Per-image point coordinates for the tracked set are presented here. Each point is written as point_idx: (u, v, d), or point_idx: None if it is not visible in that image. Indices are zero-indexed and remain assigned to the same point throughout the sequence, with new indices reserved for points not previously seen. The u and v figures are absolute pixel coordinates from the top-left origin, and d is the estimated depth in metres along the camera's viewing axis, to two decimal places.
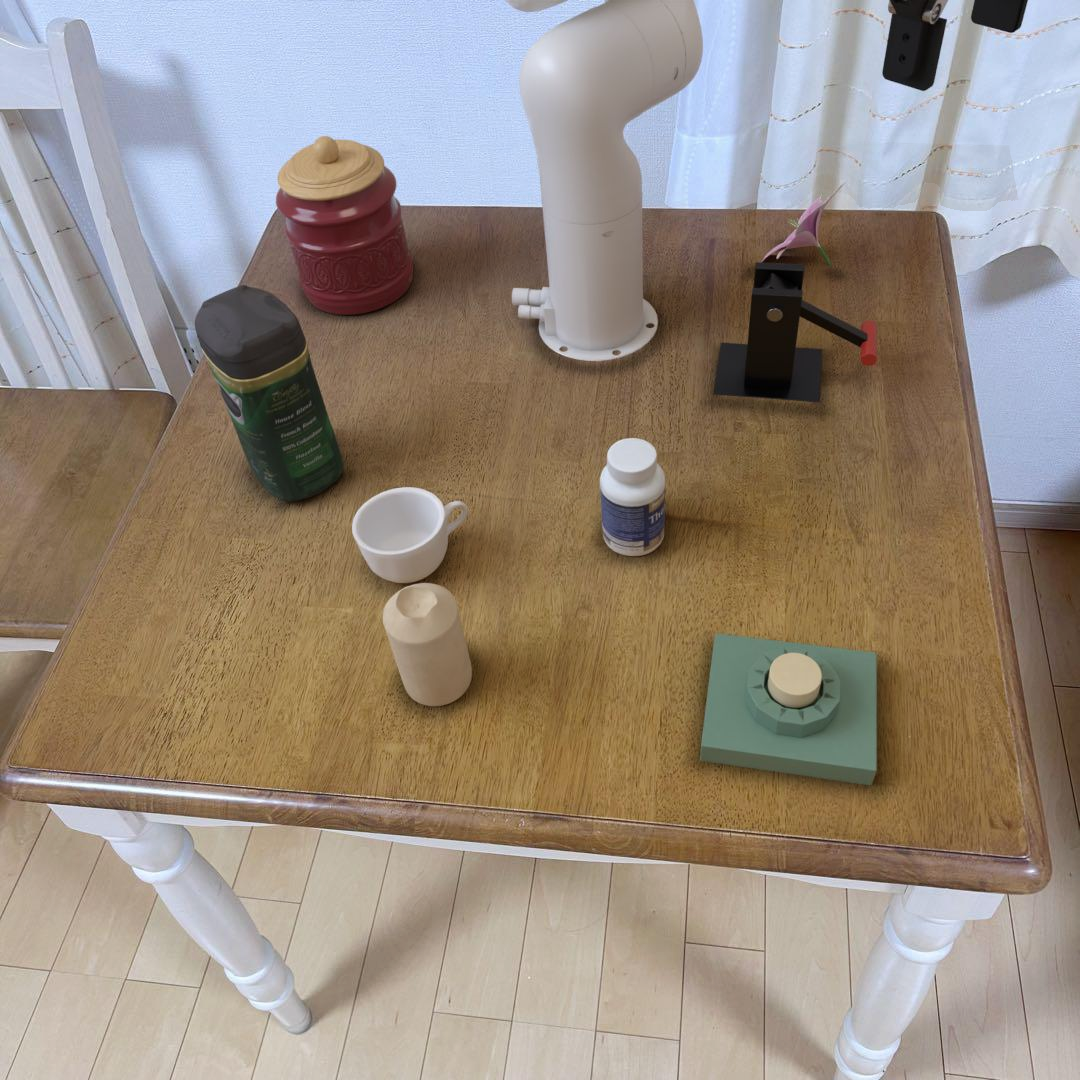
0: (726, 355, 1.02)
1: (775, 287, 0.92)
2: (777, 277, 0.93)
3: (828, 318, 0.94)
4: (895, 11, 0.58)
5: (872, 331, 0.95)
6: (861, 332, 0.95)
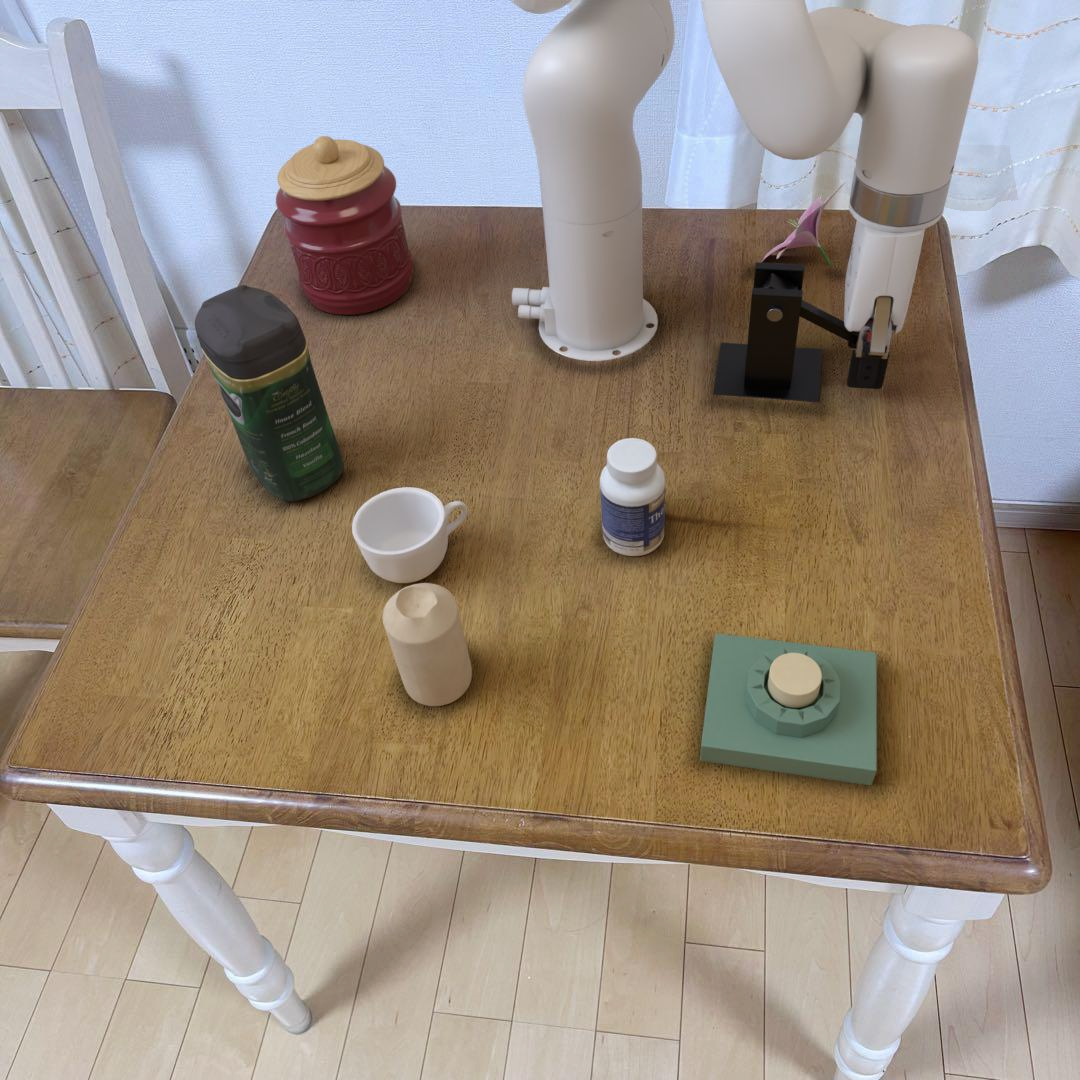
0: (726, 355, 1.02)
1: (775, 287, 0.92)
2: (777, 277, 0.93)
3: (828, 318, 0.94)
4: (861, 357, 0.92)
5: None
6: None
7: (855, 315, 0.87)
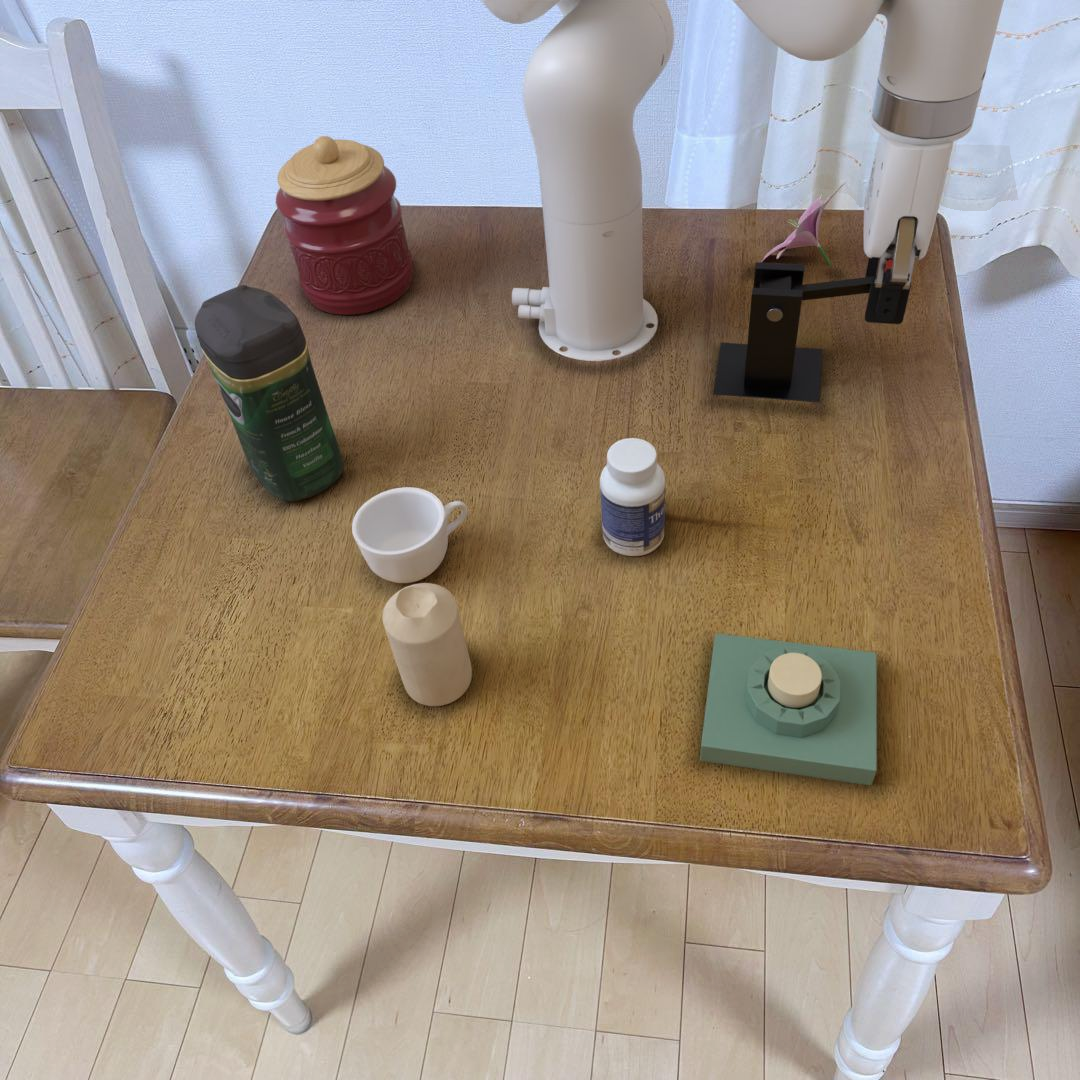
0: (726, 355, 1.02)
1: None
2: (767, 280, 0.93)
3: (835, 285, 0.91)
4: (881, 288, 0.86)
5: None
6: None
7: (876, 239, 0.82)
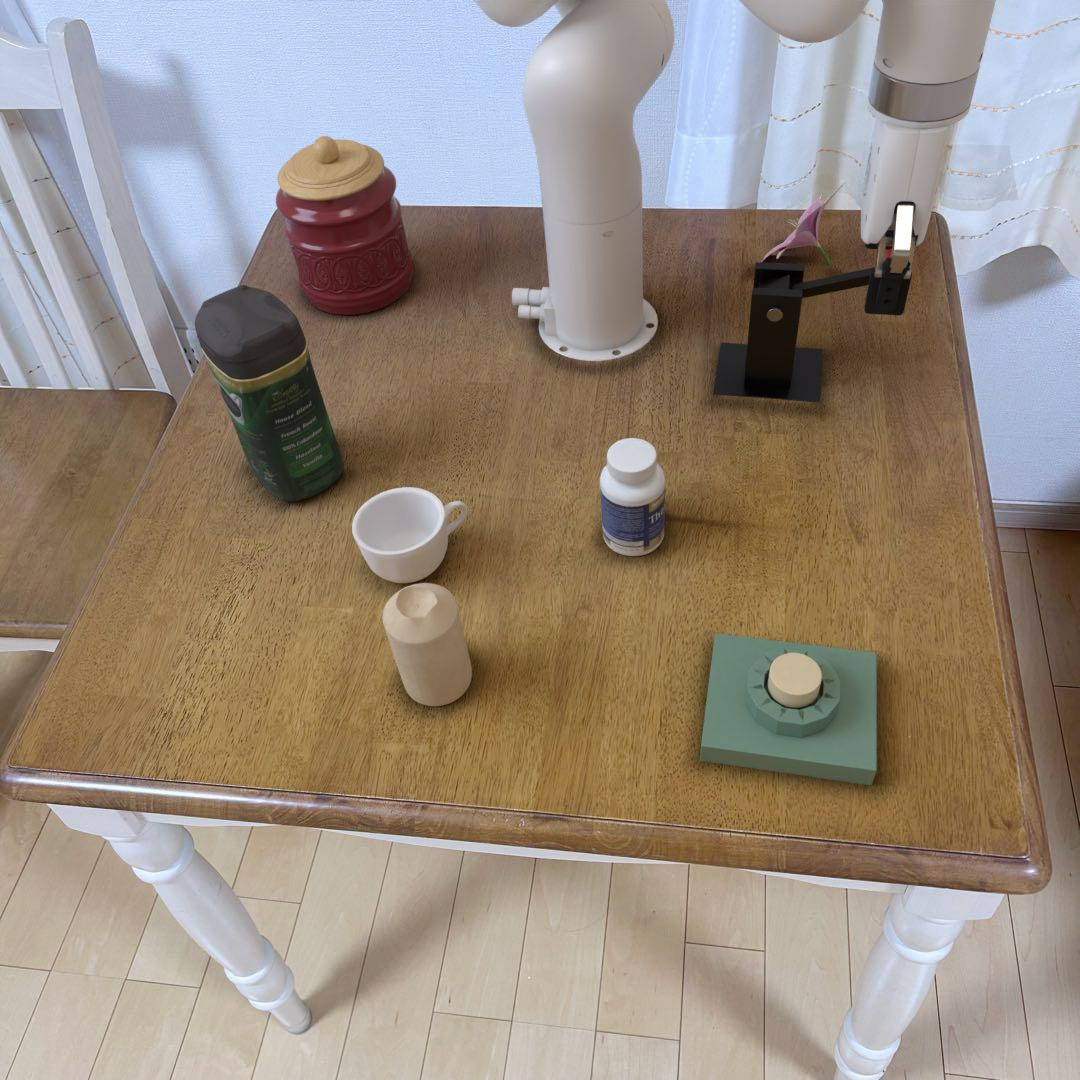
0: (726, 355, 1.02)
1: None
2: (766, 281, 0.93)
3: (834, 280, 0.91)
4: (881, 276, 0.83)
5: None
6: None
7: (873, 225, 0.81)
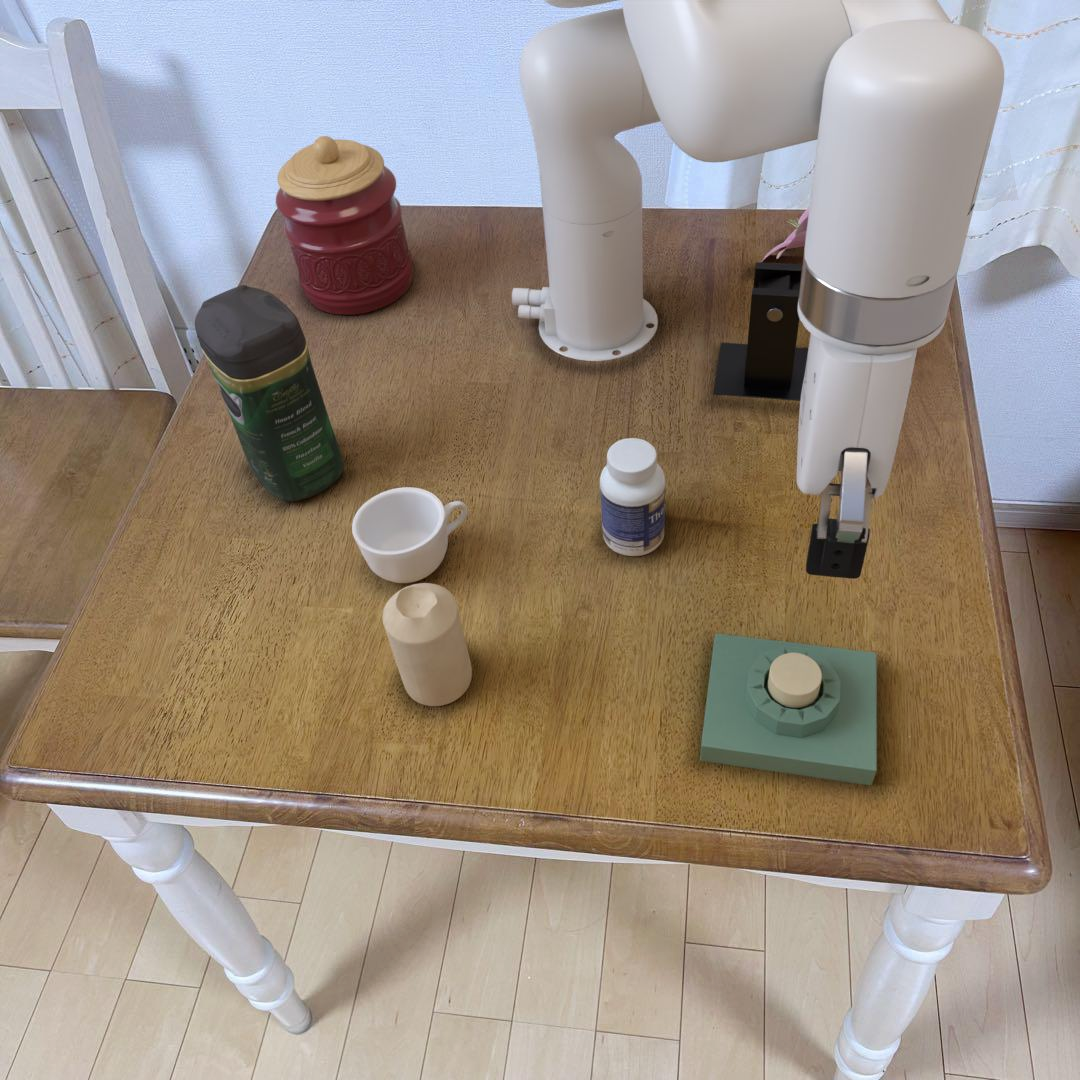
0: (726, 355, 1.02)
1: None
2: (766, 281, 0.93)
3: None
4: (825, 538, 0.58)
5: None
6: None
7: (811, 473, 0.56)
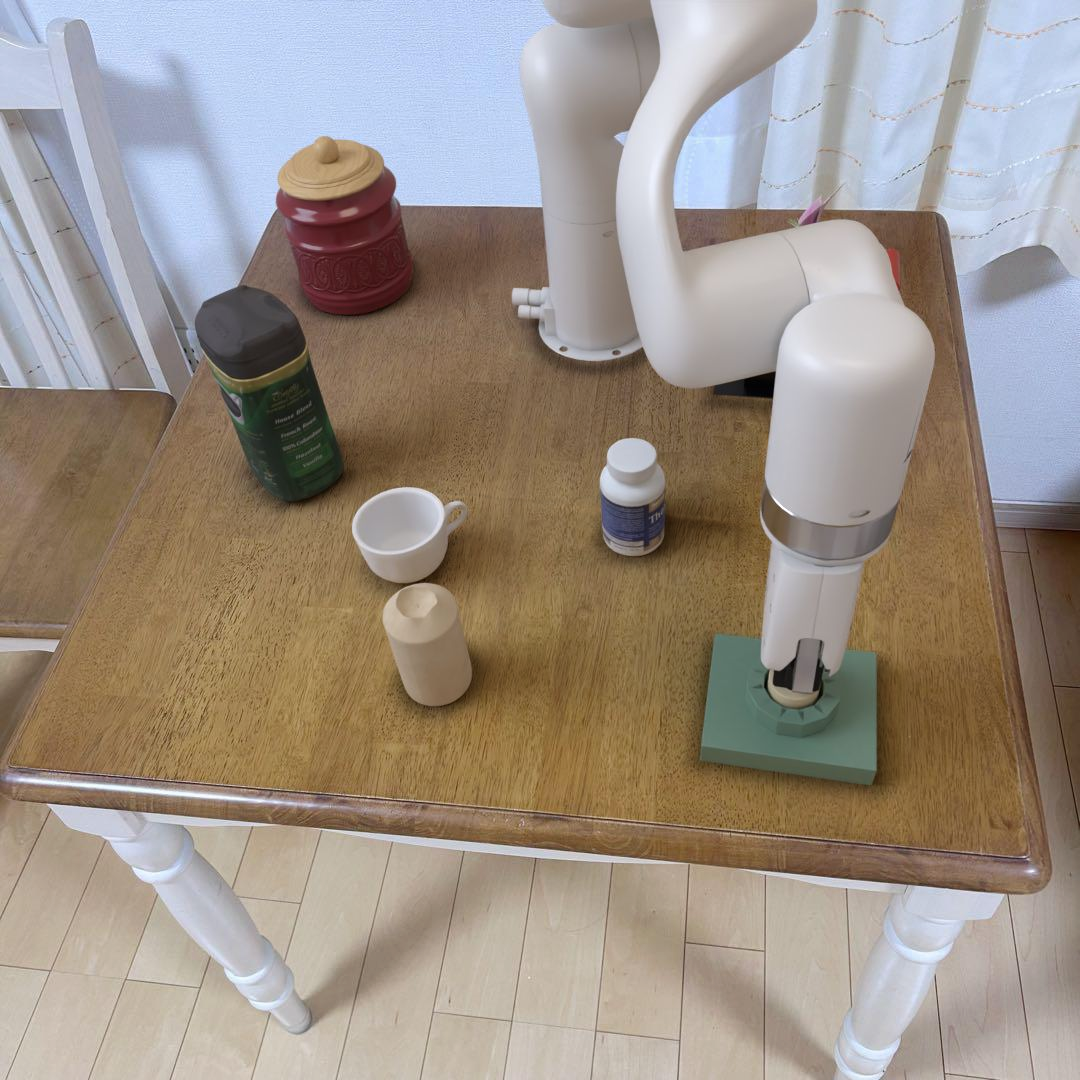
0: None
1: None
2: None
3: None
4: None
5: None
6: None
7: (772, 655, 0.62)
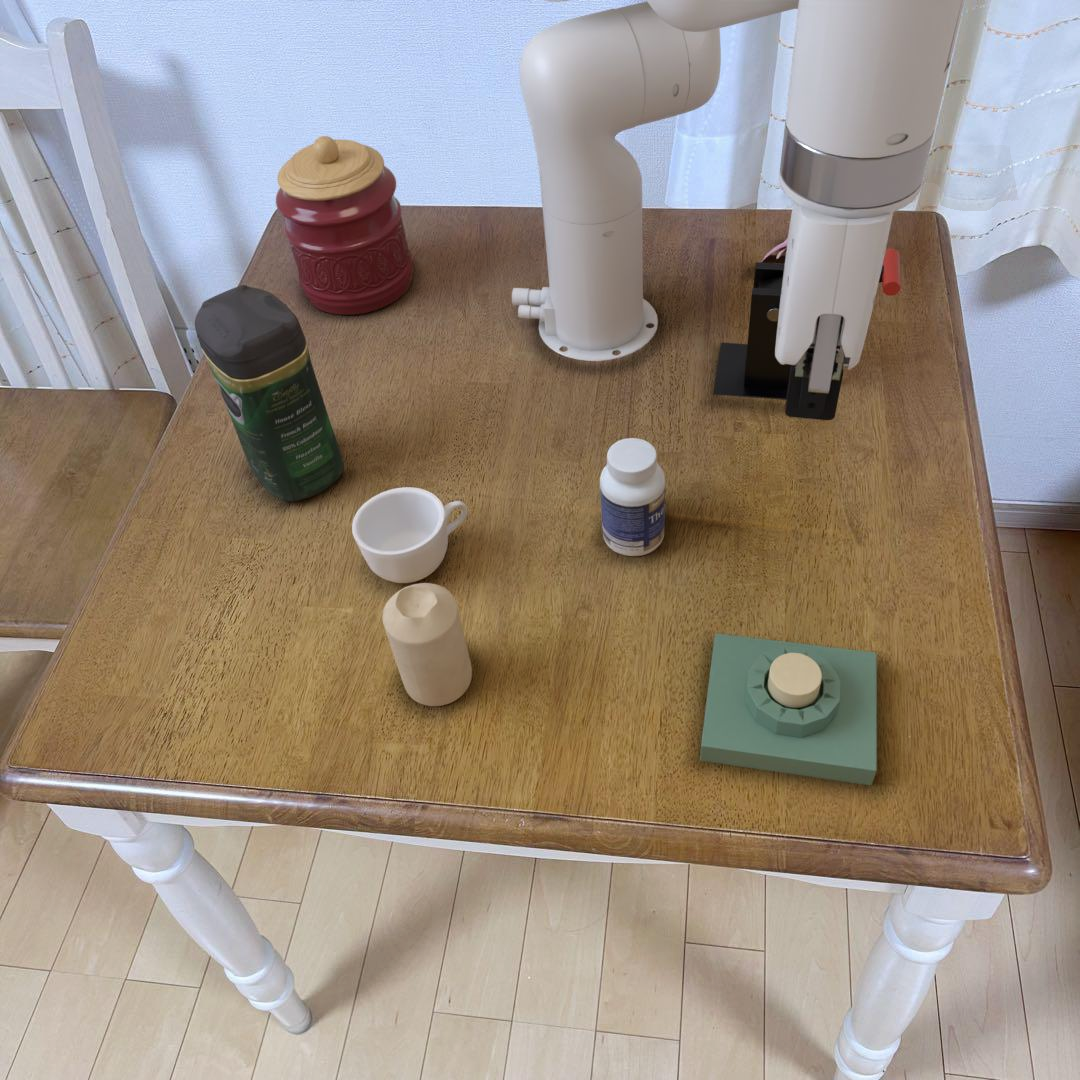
0: (726, 355, 1.02)
1: None
2: (766, 281, 0.93)
3: None
4: (802, 376, 0.64)
5: (888, 259, 0.89)
6: None
7: (788, 342, 0.58)
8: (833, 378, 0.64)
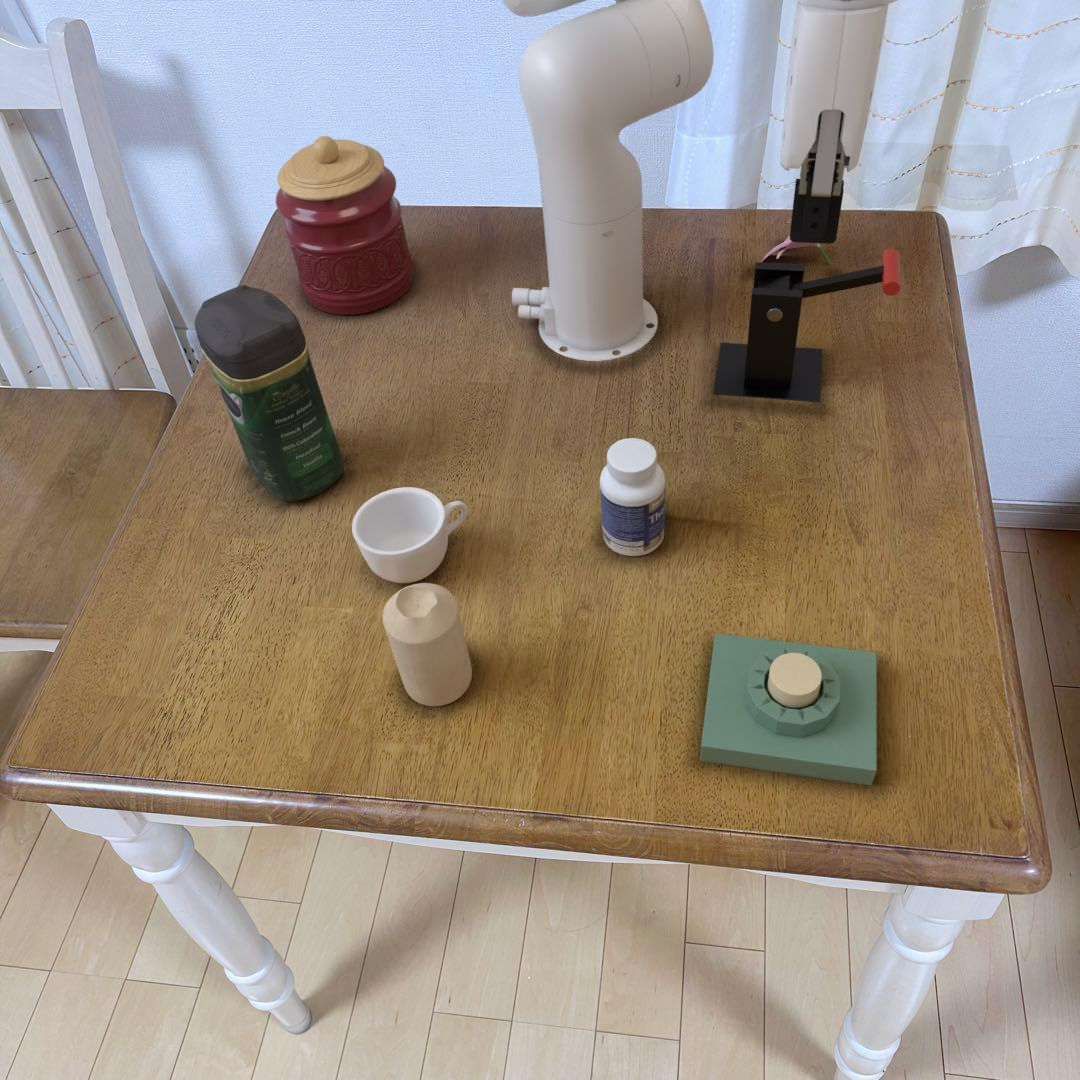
0: (726, 355, 1.02)
1: None
2: (766, 281, 0.93)
3: (834, 280, 0.91)
4: (805, 194, 0.69)
5: (888, 259, 0.89)
6: (876, 268, 0.89)
7: (792, 143, 0.63)
8: (834, 193, 0.68)
